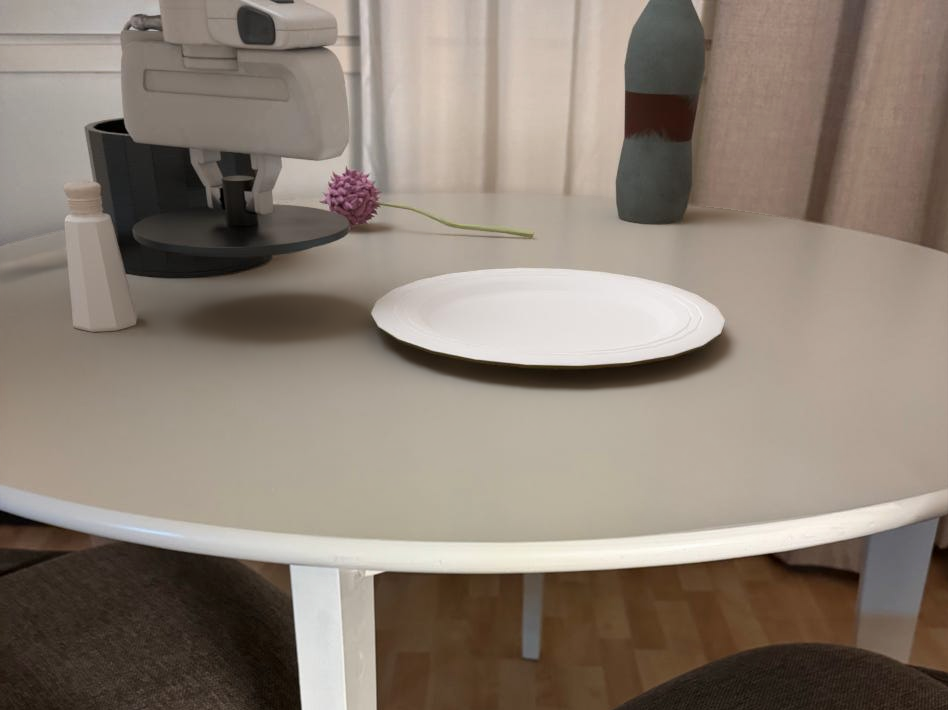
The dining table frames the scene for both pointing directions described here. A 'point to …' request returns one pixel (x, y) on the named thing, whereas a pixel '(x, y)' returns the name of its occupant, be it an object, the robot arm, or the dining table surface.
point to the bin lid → (240, 227)
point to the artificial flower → (360, 201)
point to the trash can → (156, 197)
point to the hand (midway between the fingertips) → (241, 211)
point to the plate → (548, 318)
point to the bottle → (660, 112)
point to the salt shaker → (95, 263)
